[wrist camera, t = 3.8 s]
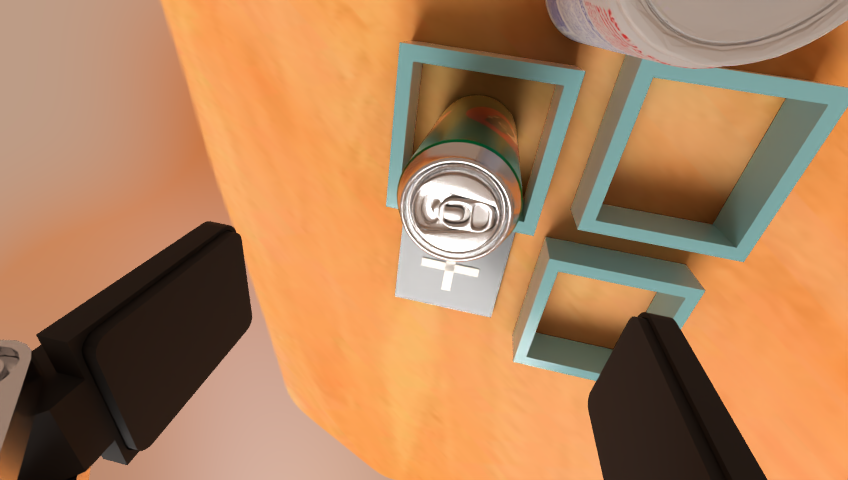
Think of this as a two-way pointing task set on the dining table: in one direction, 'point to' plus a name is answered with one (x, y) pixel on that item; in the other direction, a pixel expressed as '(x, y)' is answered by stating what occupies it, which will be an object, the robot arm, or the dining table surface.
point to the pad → (451, 278)
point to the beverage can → (697, 28)
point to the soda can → (463, 182)
